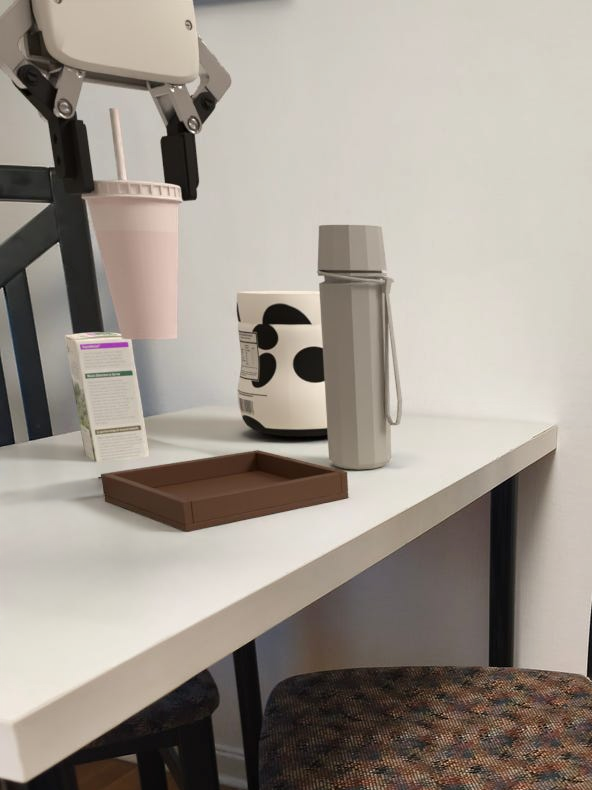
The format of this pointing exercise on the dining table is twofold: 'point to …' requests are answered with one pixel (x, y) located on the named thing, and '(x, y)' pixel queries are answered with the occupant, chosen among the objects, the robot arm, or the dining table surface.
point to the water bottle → (356, 345)
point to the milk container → (281, 363)
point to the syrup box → (107, 396)
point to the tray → (223, 488)
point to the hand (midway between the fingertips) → (132, 194)
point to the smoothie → (138, 247)
